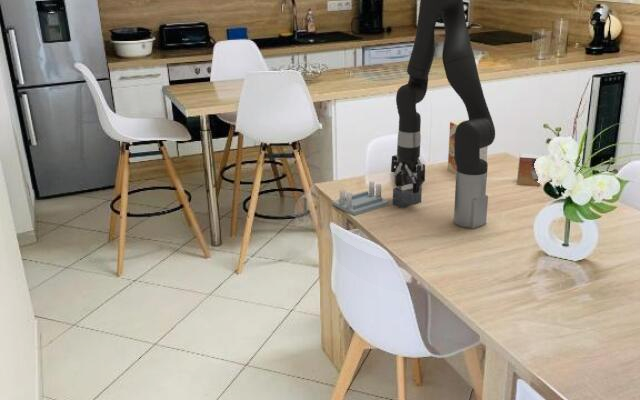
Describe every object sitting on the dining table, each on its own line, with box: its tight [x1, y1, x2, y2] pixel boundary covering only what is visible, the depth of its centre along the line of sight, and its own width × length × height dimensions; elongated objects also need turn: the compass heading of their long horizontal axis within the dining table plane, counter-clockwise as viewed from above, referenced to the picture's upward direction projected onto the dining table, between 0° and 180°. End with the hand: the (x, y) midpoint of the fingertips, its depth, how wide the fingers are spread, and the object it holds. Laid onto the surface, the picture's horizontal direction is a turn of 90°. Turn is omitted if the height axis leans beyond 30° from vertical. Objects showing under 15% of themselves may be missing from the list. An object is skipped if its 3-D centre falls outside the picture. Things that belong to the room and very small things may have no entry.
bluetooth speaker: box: [401, 157, 424, 186], centre depth 238 cm, size 23×9×10 cm, turn 179°
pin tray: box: [332, 181, 390, 216], centre depth 218 cm, size 12×15×6 cm
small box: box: [516, 152, 543, 187], centre depth 233 cm, size 8×6×10 cm
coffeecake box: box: [447, 119, 489, 175], centre depth 242 cm, size 15×7×20 cm, turn 25°
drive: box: [392, 183, 423, 209], centre depth 218 cm, size 4×9×6 cm, turn 126°
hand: (406, 189), depth 218 cm, fingers open, 8 cm apart
